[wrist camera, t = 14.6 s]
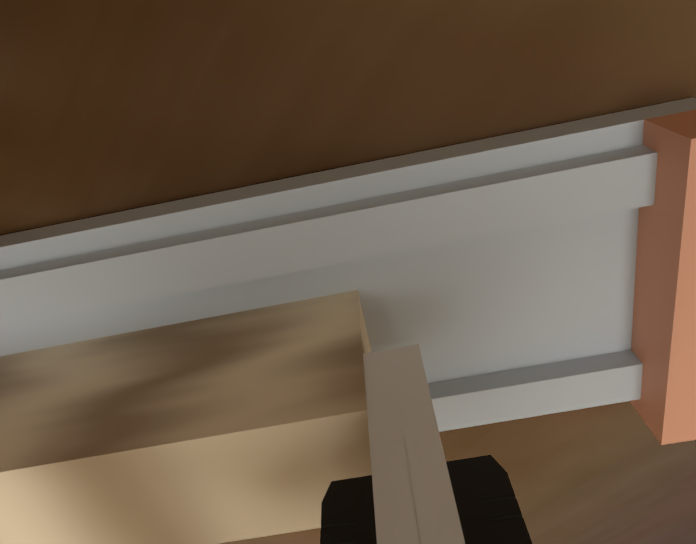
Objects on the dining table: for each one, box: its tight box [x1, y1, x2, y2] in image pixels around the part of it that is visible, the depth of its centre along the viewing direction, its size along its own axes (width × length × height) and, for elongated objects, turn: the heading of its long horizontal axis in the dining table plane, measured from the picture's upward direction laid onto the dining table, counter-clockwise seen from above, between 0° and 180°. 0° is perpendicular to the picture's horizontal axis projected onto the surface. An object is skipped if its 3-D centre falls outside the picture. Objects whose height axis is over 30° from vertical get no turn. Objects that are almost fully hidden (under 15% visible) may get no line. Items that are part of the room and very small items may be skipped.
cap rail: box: [0, 97, 696, 445], centre depth 17 cm, size 26×10×3 cm, turn 101°
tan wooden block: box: [0, 290, 372, 544], centre depth 16 cm, size 12×4×6 cm, turn 101°
